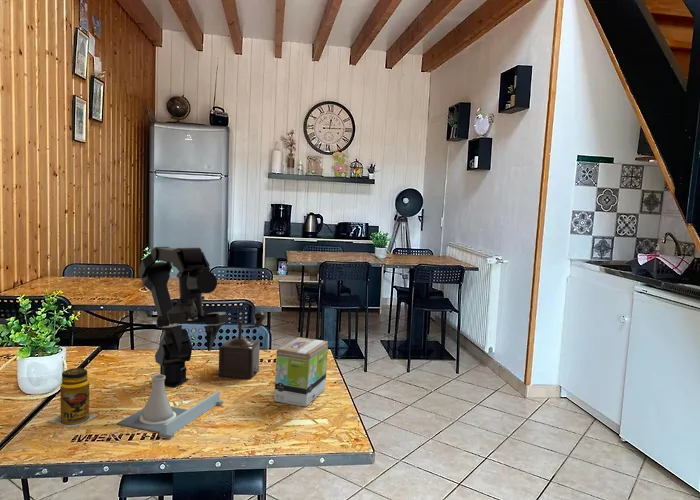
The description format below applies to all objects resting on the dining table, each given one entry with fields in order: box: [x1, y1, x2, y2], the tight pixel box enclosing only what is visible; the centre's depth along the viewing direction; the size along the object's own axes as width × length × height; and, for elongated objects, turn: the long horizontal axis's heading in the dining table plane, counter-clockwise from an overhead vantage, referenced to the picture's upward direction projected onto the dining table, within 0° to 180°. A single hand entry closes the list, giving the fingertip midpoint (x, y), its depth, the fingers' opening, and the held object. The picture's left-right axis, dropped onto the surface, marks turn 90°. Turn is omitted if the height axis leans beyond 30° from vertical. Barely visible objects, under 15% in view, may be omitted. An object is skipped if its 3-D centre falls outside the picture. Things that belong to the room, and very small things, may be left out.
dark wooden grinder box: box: [218, 311, 266, 380], centre depth 161 cm, size 16×11×18 cm
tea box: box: [273, 336, 329, 407], centre depth 143 cm, size 15×10×15 cm, turn 163°
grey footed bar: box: [158, 391, 224, 440], centre depth 125 cm, size 3×22×3 cm, turn 163°
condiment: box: [46, 367, 99, 428], centre depth 121 cm, size 7×8×12 cm
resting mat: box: [116, 406, 188, 434], centre depth 124 cm, size 13×13×1 cm
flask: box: [142, 374, 174, 422], centre depth 124 cm, size 7×7×10 cm
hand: (194, 351), depth 138 cm, fingers open, 9 cm apart
